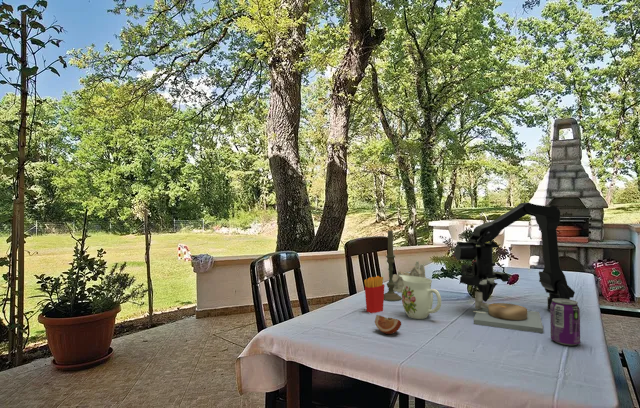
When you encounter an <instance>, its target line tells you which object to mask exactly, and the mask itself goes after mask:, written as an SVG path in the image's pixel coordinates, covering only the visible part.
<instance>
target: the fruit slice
mask: <svg viewBox="0 0 640 408" xmlns="http://www.w3.org/2000/svg"><path fill="white" fill-rule="evenodd" d="M374 323H375V326H376V328H377V330H379V331H380V332H381V333H383V334H386V335H391V334H394V333H396V332H398V330H399V329H400V328H401V326H402V321H400V319H396V318H392V317H385V316H382V315H378V314H377V315H376V316H375V320H374Z"/></svg>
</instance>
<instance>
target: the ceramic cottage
mask: <svg viewBox="0 0 640 408" xmlns="http://www.w3.org/2000/svg"><path fill="white" fill-rule="evenodd" d="M392 274H393V273H392ZM399 275H408V276H416V277H423V278H427V276H426V269H425V265H424V264H423V263H420V261H418V260H416V262H415V264H414V266H413V267H411V269H410V272H407V271H404V272H403V273H402V272H401V271H400V270H398V271H397V274H396V273H395V274H393V275H392V276H393V277H392V280H393V283H395V286H394V288H393V291H394V292H396V291H397V292H396V293H401V294H402V289H403V286H404V284H403V279H402V278H401V277H400V276H399Z"/></svg>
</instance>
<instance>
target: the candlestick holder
mask: <svg viewBox="0 0 640 408" xmlns="http://www.w3.org/2000/svg"><path fill="white" fill-rule="evenodd" d="M385 257H386V258H387V259H386V262H387V263H388V269H387V270H388V278H389V279H388V282H387V283H386V287H387V288H388V291H387V292H384V302H385V301H387V302H399V301H402V295H399V294H398V293H397V292H396V291H393V288H394V286H395V283H393V280H392V277H393V271H394V268H393V267H394V266H393V264H394V263H395V258H396V256H395V255H394V230H392V229H390V230H387V255H386V256H385Z"/></svg>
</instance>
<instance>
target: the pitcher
mask: <svg viewBox="0 0 640 408" xmlns="http://www.w3.org/2000/svg"><path fill="white" fill-rule="evenodd" d="M399 276H400V277H401V278H402V279H403V284H404V286H403V289H402V293H401V298H402V299H401V303H402V307H403V309H404V312H405V314H406V315H407V317H409V318H410V319H417V320H424V319H427V318H428V316H429V315H430V314H435V313H437V312H438V311H439V310H441V306H442V297H441V294H440V292H439V291H438V290H437V289H436V288H432V282H433V280H432V279H430V278H427V277H426V278H423V277H416V276H408V275H399ZM433 294H435V296H436V299H437V302H436V303H437V304H436V306H435V307H434V308H433V304H434V303H433V302H434V295H433ZM432 308H433V309H432Z"/></svg>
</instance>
